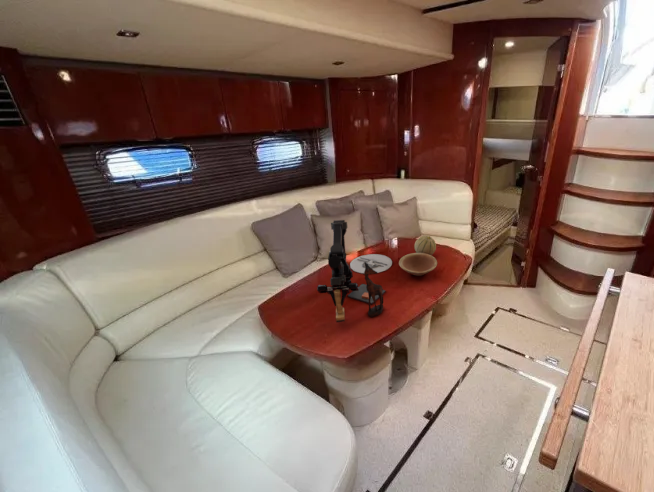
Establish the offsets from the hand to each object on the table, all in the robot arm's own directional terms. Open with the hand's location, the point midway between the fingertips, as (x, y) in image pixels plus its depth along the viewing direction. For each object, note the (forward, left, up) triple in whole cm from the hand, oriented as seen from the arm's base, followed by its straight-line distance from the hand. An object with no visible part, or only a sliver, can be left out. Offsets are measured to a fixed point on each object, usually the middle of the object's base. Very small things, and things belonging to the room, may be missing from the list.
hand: (338, 305), depth 142 cm
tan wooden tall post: (-1, +1, -8) cm, 8 cm away
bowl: (+10, +63, -11) cm, 65 cm away
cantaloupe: (+4, +86, -11) cm, 87 cm away
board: (-4, +27, -10) cm, 29 cm away
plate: (-23, +59, -11) cm, 64 cm away
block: (-2, +24, -9) cm, 26 cm away
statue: (+10, +15, -11) cm, 21 cm away
